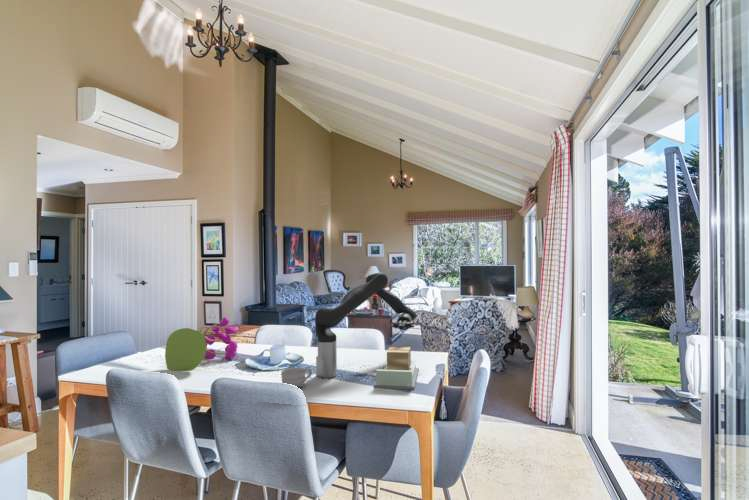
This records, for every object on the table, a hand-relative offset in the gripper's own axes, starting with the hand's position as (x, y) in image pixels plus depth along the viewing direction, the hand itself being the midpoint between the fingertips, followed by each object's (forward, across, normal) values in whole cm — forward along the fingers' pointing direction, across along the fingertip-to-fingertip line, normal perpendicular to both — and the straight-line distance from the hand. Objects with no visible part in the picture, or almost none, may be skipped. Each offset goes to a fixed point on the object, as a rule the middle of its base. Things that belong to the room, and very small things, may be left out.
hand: (400, 327), depth 221 cm
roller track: (+16, 0, +21) cm, 27 cm away
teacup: (+35, -44, +21) cm, 60 cm away
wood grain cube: (+10, 0, +20) cm, 22 cm away
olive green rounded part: (+1, -110, +22) cm, 112 cm away
